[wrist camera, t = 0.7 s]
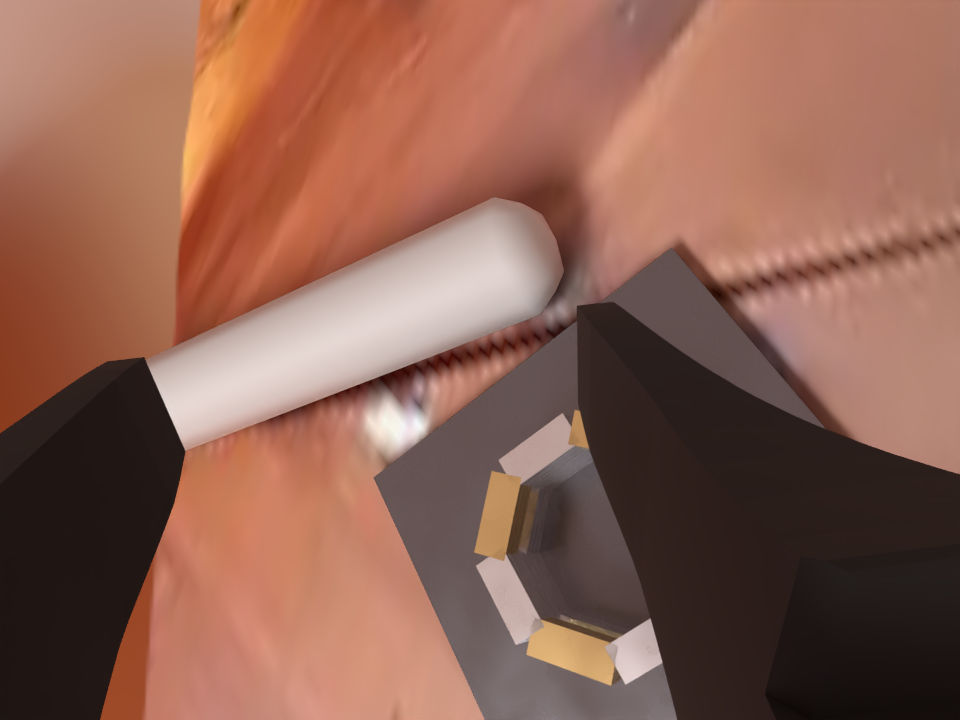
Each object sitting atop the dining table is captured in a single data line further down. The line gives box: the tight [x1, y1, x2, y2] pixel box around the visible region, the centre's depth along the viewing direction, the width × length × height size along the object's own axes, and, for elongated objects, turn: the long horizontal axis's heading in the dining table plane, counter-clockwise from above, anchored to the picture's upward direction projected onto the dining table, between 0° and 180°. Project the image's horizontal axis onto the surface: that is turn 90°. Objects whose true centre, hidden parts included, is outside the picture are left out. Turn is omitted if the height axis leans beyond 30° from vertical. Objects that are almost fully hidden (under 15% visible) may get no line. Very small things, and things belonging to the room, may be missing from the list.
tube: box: [146, 197, 564, 451], centre depth 32 cm, size 5×5×25 cm
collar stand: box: [374, 248, 826, 720], centre depth 24 cm, size 16×16×4 cm
